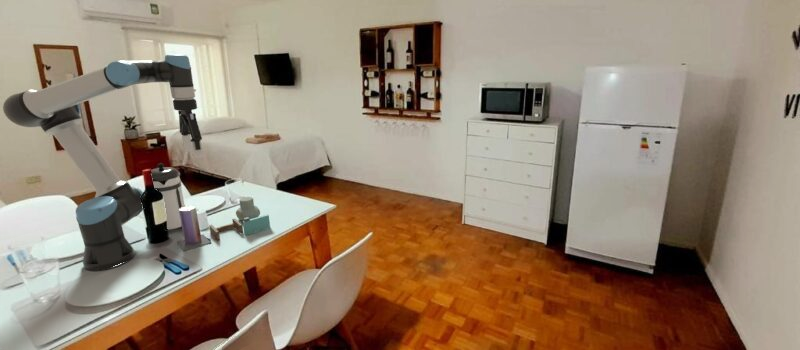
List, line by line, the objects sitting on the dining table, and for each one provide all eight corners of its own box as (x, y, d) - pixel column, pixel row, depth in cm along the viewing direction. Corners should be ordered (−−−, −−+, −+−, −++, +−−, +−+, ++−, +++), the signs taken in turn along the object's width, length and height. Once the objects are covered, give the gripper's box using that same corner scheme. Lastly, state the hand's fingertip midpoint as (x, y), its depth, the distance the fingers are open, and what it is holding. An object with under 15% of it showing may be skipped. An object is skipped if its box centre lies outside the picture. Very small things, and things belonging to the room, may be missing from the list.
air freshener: (234, 218, 175) (232, 198, 172) (251, 213, 181) (249, 193, 178) (245, 224, 168) (243, 204, 165) (262, 219, 174) (260, 199, 171)
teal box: (245, 235, 158) (243, 219, 156) (244, 233, 159) (242, 218, 157) (270, 227, 165) (268, 212, 163) (268, 226, 166) (267, 211, 164)
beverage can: (188, 247, 147) (181, 212, 143) (183, 242, 151) (176, 208, 147) (204, 241, 152) (198, 207, 147) (198, 237, 155) (192, 204, 151)
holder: (217, 240, 153) (216, 232, 152) (210, 233, 160) (209, 225, 158) (243, 233, 160) (242, 224, 159) (235, 226, 166) (234, 218, 165)
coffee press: (201, 222, 171) (190, 159, 162) (171, 237, 156) (157, 169, 147) (172, 217, 176) (160, 156, 167) (140, 232, 161) (125, 165, 152)
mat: (183, 251, 145) (183, 250, 145) (177, 242, 152) (176, 241, 152) (210, 243, 151) (210, 242, 151) (203, 235, 158) (203, 234, 158)
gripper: (205, 100, 130) (214, 159, 136) (186, 95, 147) (195, 147, 154) (181, 102, 125) (192, 162, 131) (164, 97, 142) (174, 150, 149)
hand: (193, 154), depth 142 cm, fingers open, 13 cm apart
